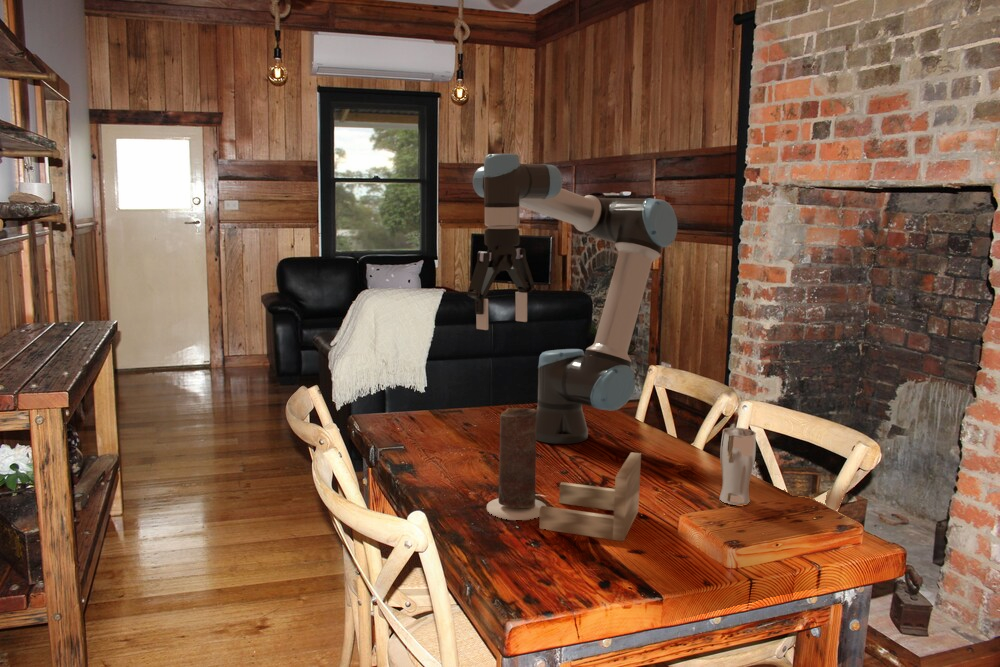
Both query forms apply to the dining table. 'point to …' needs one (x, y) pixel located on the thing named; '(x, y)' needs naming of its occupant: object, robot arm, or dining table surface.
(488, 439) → the dining table surface
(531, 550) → the dining table surface
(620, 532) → the shelf
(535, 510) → the coaster
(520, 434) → the candle
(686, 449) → the dining table surface
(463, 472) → the dining table surface
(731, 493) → the beer glass
